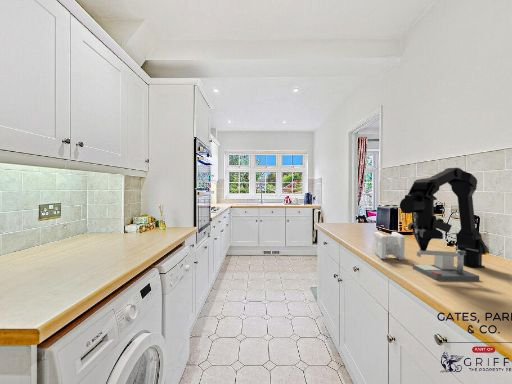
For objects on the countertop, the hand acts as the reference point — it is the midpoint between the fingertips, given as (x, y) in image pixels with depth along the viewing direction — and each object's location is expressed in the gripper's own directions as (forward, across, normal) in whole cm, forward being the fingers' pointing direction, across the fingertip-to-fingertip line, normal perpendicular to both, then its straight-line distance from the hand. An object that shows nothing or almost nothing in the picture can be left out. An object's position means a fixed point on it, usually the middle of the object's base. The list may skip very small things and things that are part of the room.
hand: (423, 252), depth 99 cm
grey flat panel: (+9, +4, -8) cm, 13 cm away
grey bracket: (+7, -1, -5) cm, 9 cm away
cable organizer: (+10, +24, +7) cm, 27 cm away
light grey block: (+7, +7, -10) cm, 14 cm away
